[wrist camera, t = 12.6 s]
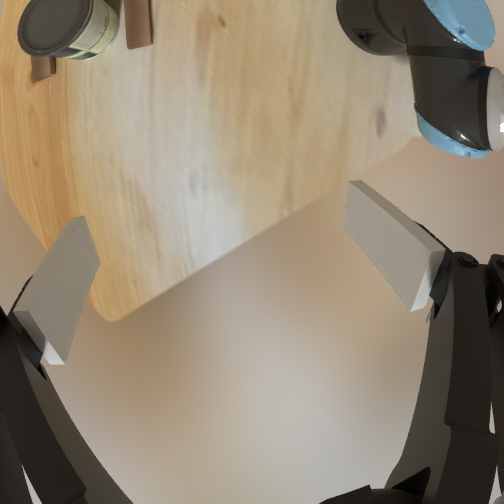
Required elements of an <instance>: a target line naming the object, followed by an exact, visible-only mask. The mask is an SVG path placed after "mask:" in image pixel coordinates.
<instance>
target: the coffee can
mask: <svg viewBox="0 0 504 504" xmlns="http://www.w3.org/2000/svg"><path fill="white" fill-rule="evenodd" d="M118 29H119V18H118V15H117V13H116V11H115V10H114V9H113V8H112V7H111V6H109V5H107V4H106V3H105V2H104V1H103V0H31V1H30V2H29V4H28V5H27V6H26V8H25V10H24V12H23V14H22V16H21V18H20V21H19V25H18V33H17V35H18V41H19V44H20V46H21V48H22V49H23V50H24V51H25V52H26V53H27V54H29V55H32V56H36V57H45V56H48V57H60V58H68V59H74V60H88V59H92V58H94V57H96V56H98V55H100V54H102V53H103V52H104V51H105V50H106V49H107V48H108V47H109V46H110V45H111V44H112V43H113V41H114V39H115V38H116V36H117V33H118Z"/></svg>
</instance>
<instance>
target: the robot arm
mask: <svg viewBox="0 0 504 504" xmlns="http://www.w3.org/2000/svg"><path fill="white" fill-rule="evenodd" d="M337 16H338V20H339V22H340V25H341V27H342V29H343V30H344V32H345V34H346V35H347V36H348V37H349V39H350V40H351V41H352V42H353V43H354V44H355V45H357V46H358V47H359V48H361V49H362V50H364V51H366V52H368V53H371V54H374V55H381V56H384V55H395V54H399V53H401V52H403V51H404V50H406V49H407V51H408V58H409V63H410V69H411V76H412V83H413V90H414V99H415V103H414V109H415V112H416V115H417V123H418V128H419V131H420V133H421V134H422V135H423V137H424V138H425V139H426V140H427V141H428V142H430V143H431V144H433V145H434V146H436V147H438V148H440V149H442V150H444V151H447V152H450V153H452V154H455V155H459V156H464V155H466V156H468V157H470V158H482V157H484V156H485V155H487V154H488V152H489V150H492V151H495V152H498V151H499V150H501V149H502V148H503V147H504V75H503V74H502V73H501V72H500V70H499V69H497V68H495V67H488V66H486V64H485V62H484V61H485V58H484V50H486V49H488V48H490V47H491V46H492V45H493V43H494V39H493V37H495V26H494V22H493V18H492V15H491V13H490V11H489V8H488V6H487V4H486V3H485V1H484V0H337ZM425 55H426V56H425ZM344 230H345V231H346V232H347V233H348V234H349V235H350V237H351V238H352V239H353V240H354V241H355V242H356V243H357V245H358V246H359V247H360V248H361V249H362V251H363V252H364V253H365V254H366V256H367V257H368V258H369V259H370V261H371V262H372V263H373V264H374V265H375V266H376V268H377V269H378V270H379V271H380V273H381V274H382V275H383V277H384V278H385V279H386V280H387V282H388V283H389V284H390V286H391V287H392V288H393V289H394V291H395V292H396V293H397V295H398V296H399V297H400V299H401V300H402V301H403V303H404V304H405V305H406V306H407V308H408V309H409V311H410V312H411V311H414V310H418V309H421V308H424V307H425V304H426V302H427V300H428V297H429V295H430V297H431V298H432V299H433V300H434V303H433V305H432V308H431V310H430V312H429V314H428V316H427V319H426V322H428V321H429V319H430V327H429V335H428V343H427V350H426V357H425V363H424V368H423V374H422V380H421V384H420V389H419V394H418V399H417V403H416V407H415V411H414V415H413V419H412V423H411V427H410V430H409V433H408V437H407V440H406V443H405V447H404V450H403V453H402V456H401V458H400V460H399V462H398V464H397V465H396V467H395V468H394V469H393V471H392V473H391V475H390V476H389V478H388V481H387V483H386V486H385V488H384V489H371V488H370V485H367V486H364V487H362V488H359V489H356V490H354V491H351V492H348V493H345V494H342V495H339V496H336V497H333V498H329V499H327V500H325V501H323V502H321V503H320V504H488V503H489V500H490V496H491V492H492V487H493V482H494V478H495V473H496V466H497V468H498V477H499V485H500V490H501V494H502V496H500V497H498V498H497V499H496V500H495V502H494V504H504V256H503V255H499V254H493V255H491V258H490V260H489V263H488V265H486V264H479V262H478V261H477V260H476V259H475V258H474V257H473V256H471V255H470V254H467V253H465V252H454V253H453V252H452V251H451V250H450V249H449V248H448V247H446V245H444V244H443V243H442V242H441V241H440V240H439V239H438V238H435V236H434V235H433V234H432V233H430V232H429V230H427V229H426V228H425V227H424V226H423V225H421V224H419V223H417V222H415V221H413V220H412V219H410V218H409V217H408V216H407V215H406V214H404V213H403V212H402V211H401V210H399V209H398V208H397V207H396V206H395V205H393V204H392V203H391V202H389V201H388V200H387V199H386V198H384V197H383V196H382V195H380V194H379V193H378V192H376V191H375V190H374V189H372V188H371V187H370V186H368V185H367V184H366V183H364V182H363V181H361V180H357V181H348V190H347V201H346V211H345V221H344ZM100 263H101V262H100V259H99V256H98V254H97V251H96V248H95V245H94V243H93V240H92V237H91V234H90V231H89V228H88V225H87V222H86V219H85V216H80V217H76V218H72V219H71V220H70V221H69V223H68V224H67V226H66V227H65V228H64V230H63V231H62V232H61V234H60V235H59V237H58V238H57V240H56V241H55V242H54V244H53V245H52V247H51V248H50V250H49V251H48V253H47V255H46V256H45V258H44V259H43V261H42V262H41V264H40V265H39V267H38V269H37V270H36V272H35V273H34V274H33V275H32V276H31V277H30V279H28V280H27V282H26V283H25V285H24V287H23V288H22V291H21V292H20V294H19V295H18V298H17V299H16V301H15V302H14V304H13V306H12V308H11V310H10V312H9V314H8V316H6V314H5V313H4V311H3V309H2V308H1V306H0V504H33V502H32V499H31V496H30V493H29V490H28V486H27V483H26V480H25V476H24V472H23V468H22V465H23V467H24V470H25V472H26V474H27V476H28V478H29V480H30V482H31V484H32V486H33V488H34V490H35V492H36V494H37V495H38V497H39V499H40V501H41V502H42V504H133V503H132V502H131V500H130V499H129V498H128V497H127V496H126V495H125V494H124V493H123V491H122V490H121V489H120V488H119V486H118V485H117V484H116V483H115V482H114V480H113V479H112V478H111V476H110V475H109V474H108V473H107V471H106V470H105V469H104V467H103V466H102V465H101V463H100V462H99V461H98V459H97V458H96V456H95V455H94V454H93V452H92V451H91V449H90V448H89V446H88V445H87V443H86V442H85V440H84V439H83V437H82V436H81V434H80V433H79V431H78V429H77V428H76V426H75V424H74V423H73V421H72V420H71V418H70V416H69V414H68V413H67V411H66V409H65V407H64V405H63V404H62V402H61V400H60V398H59V396H58V394H57V392H56V390H55V388H54V387H53V385H52V383H51V381H50V378H49V376H48V374H47V372H46V370H45V368H44V367H43V365H42V364H41V363H40V360H41V357H42V354H43V356H44V357H45V358H46V360H47V361H48V362H49V363H50V364H66V360H67V357H68V353H69V350H70V346H71V343H72V340H73V336H74V333H75V330H76V327H77V324H78V321H79V318H80V315H81V312H82V309H83V306H84V304H85V301H86V298H87V295H88V293H89V290H90V288H91V285H92V282H93V280H94V277H95V275H96V272H97V270H98V267H99V265H100ZM500 300H501V302H502V308H501V310H500V311H499V312H498V310H497V306H498V304H499V302H500ZM491 403H492V409H493V417H494V426H495V434H494V433H491V432H490V430H489V422H490V410H491ZM21 463H22V464H21Z"/></svg>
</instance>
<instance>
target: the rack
mask: <svg viewBox="0 0 504 504" xmlns="http://www.w3.org/2000/svg"><path fill="white" fill-rule="evenodd" d="M124 9H125V26H126V40H127V48H128V49H130V50H131V49H135V48H139V47H143V46H148V45H152V34H151V20H150V5H149V0H124ZM31 63H32V74H33V82H35V81H40V80H43V79H45V78H47V77H50V76H52V75H54V74H56V70H55V59H54V57H48V56H45V57H36V56H32V55H31Z"/></svg>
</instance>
